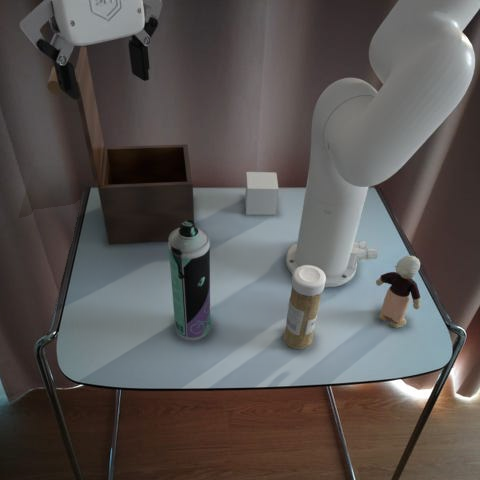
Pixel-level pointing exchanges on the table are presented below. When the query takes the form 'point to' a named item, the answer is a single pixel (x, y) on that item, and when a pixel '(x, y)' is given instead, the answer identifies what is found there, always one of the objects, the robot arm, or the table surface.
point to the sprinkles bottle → (303, 305)
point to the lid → (86, 112)
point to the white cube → (261, 193)
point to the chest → (145, 192)
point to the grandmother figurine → (400, 291)
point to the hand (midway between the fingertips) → (107, 86)
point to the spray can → (190, 280)
